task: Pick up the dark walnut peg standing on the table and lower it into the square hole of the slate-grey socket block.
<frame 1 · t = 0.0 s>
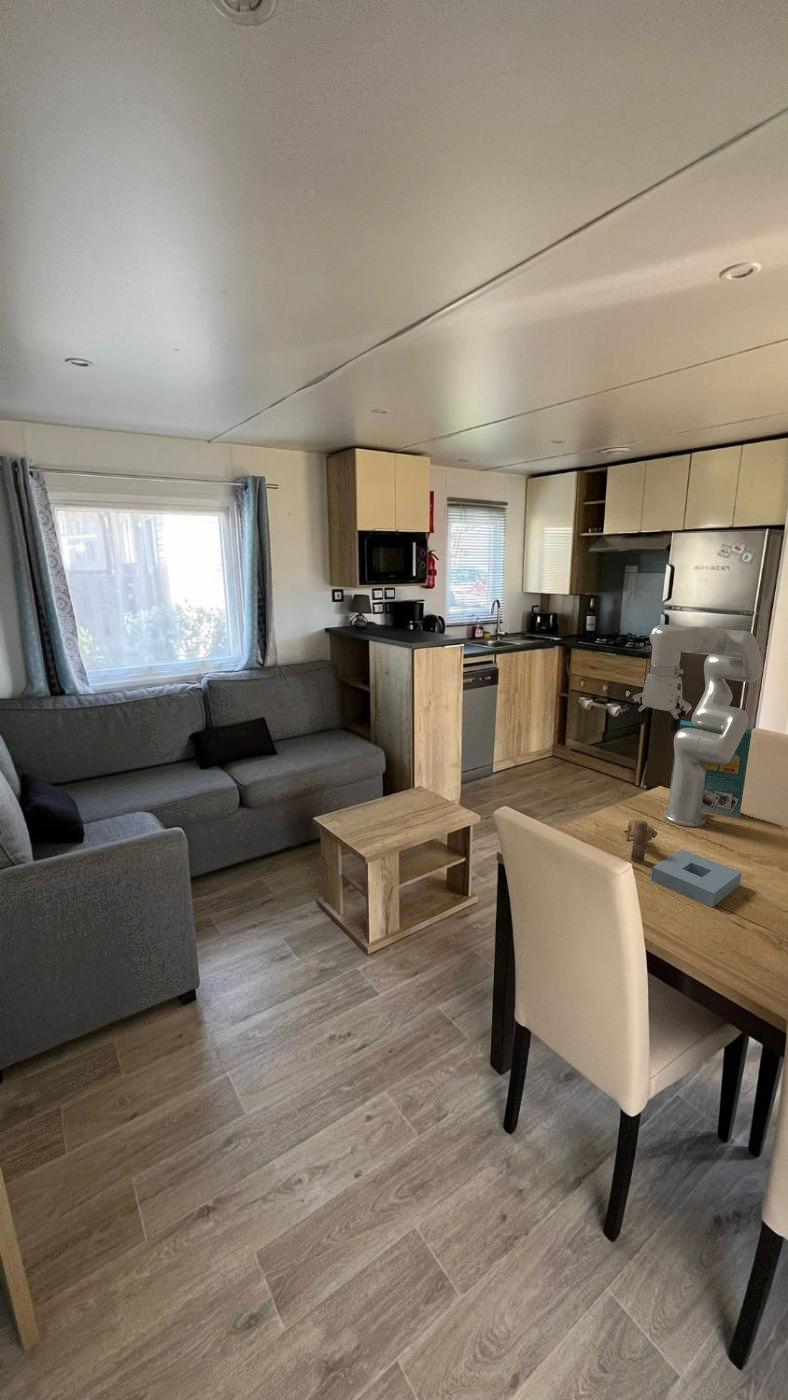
hand: (658, 727, 168), 37 cm above the table, tool pointing down, fingers open, 9 cm apart
cake mix box: (703, 808, 199), on the table
lion figurine: (637, 845, 174), on the table
peg: (637, 860, 164), on the table
socket block: (694, 882, 153), on the table
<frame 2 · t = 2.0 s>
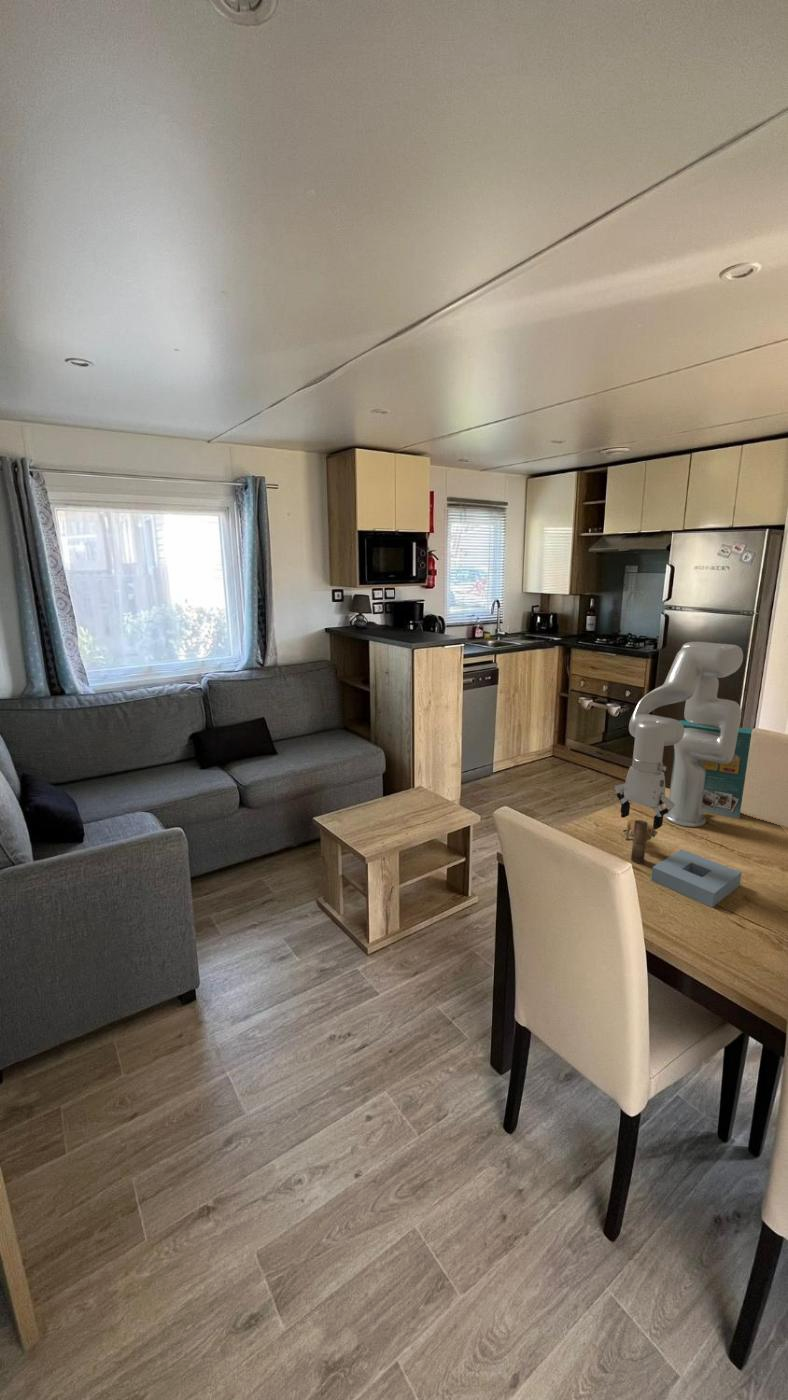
hand: (640, 822, 161), 12 cm above the table, tool pointing down, fingers open, 9 cm apart
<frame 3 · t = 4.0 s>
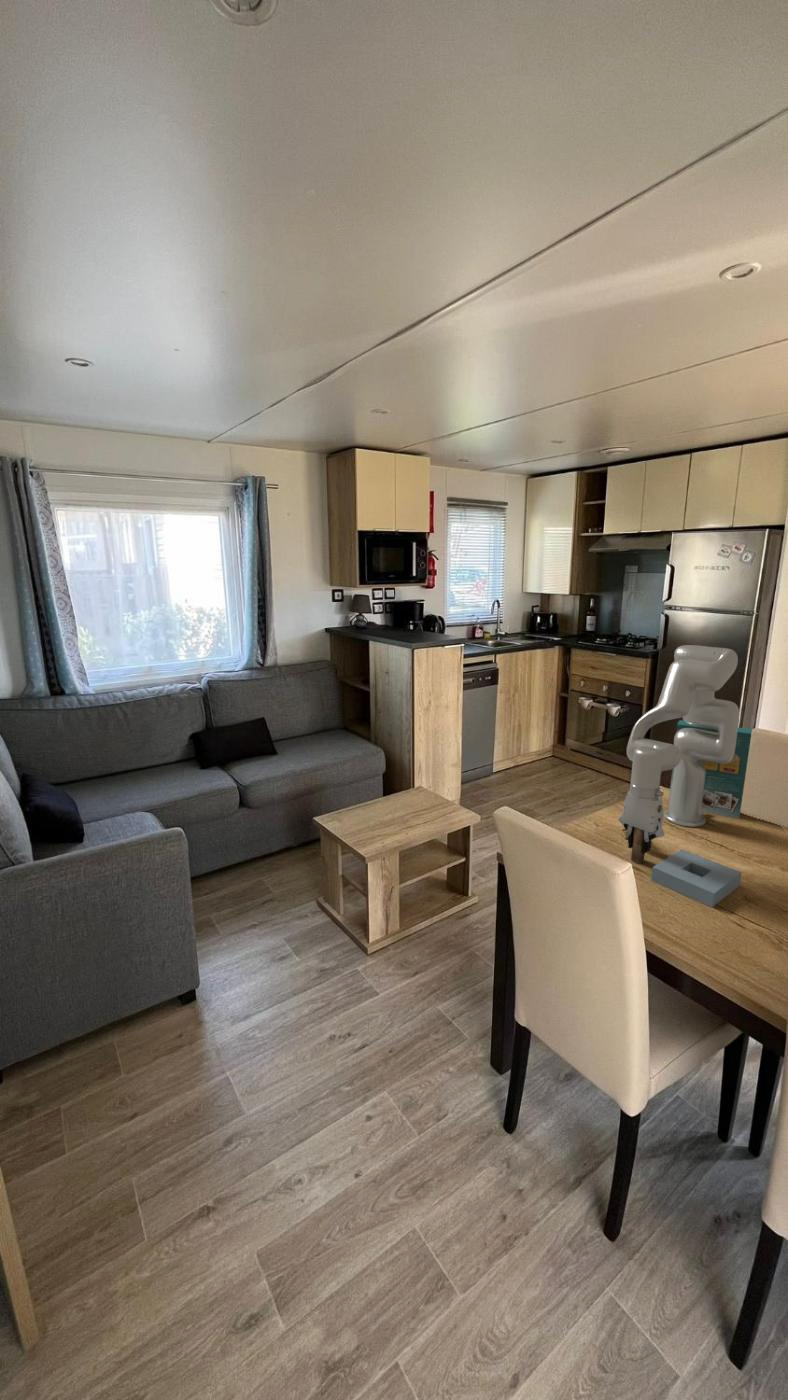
hand: (638, 848, 163), 4 cm above the table, tool pointing down, fingers closed on peg, 3 cm apart
peg: (637, 860, 164), on the table, touching gripper
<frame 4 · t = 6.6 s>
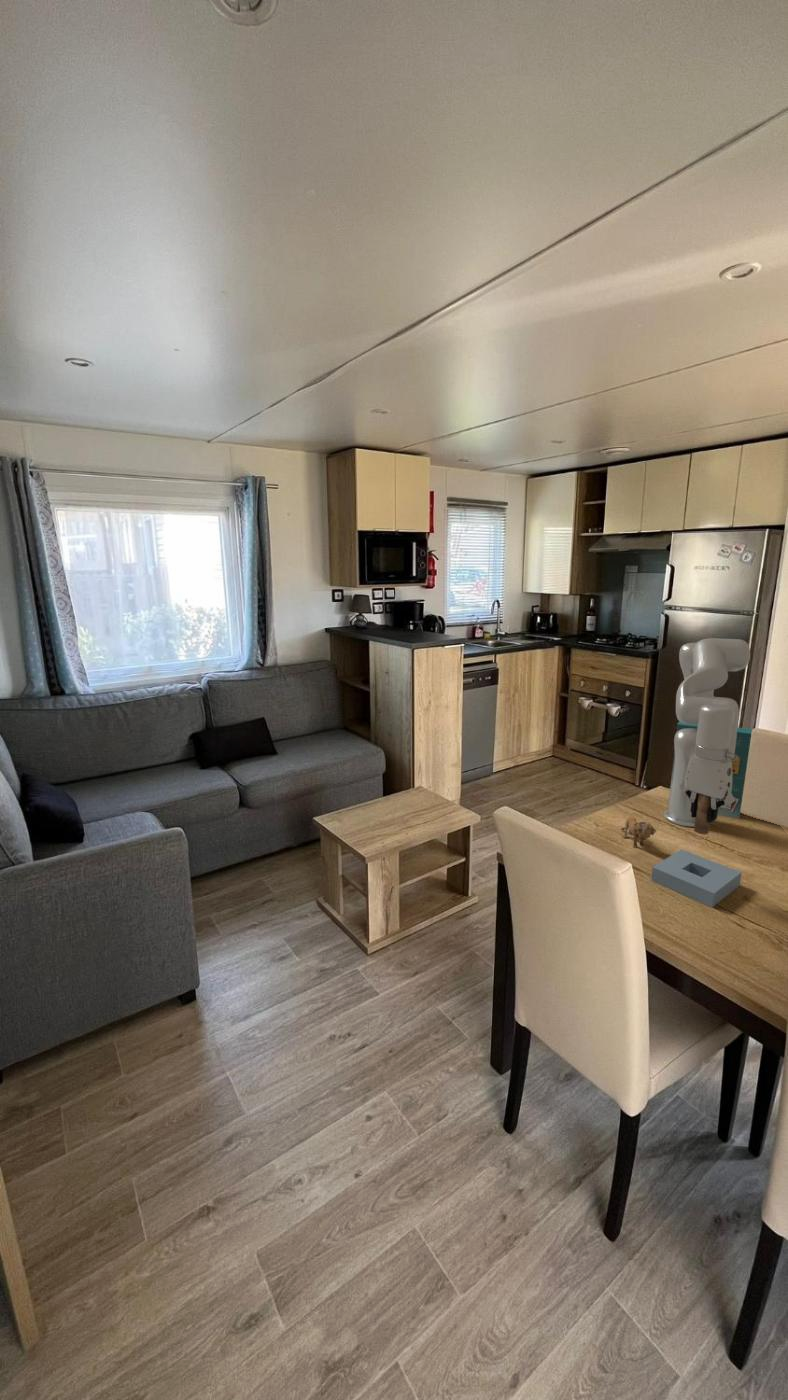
hand: (703, 817, 148), 19 cm above the table, tool pointing down, fingers closed on peg, 3 cm apart
peg: (701, 831, 149), point 15 cm above the table, touching gripper
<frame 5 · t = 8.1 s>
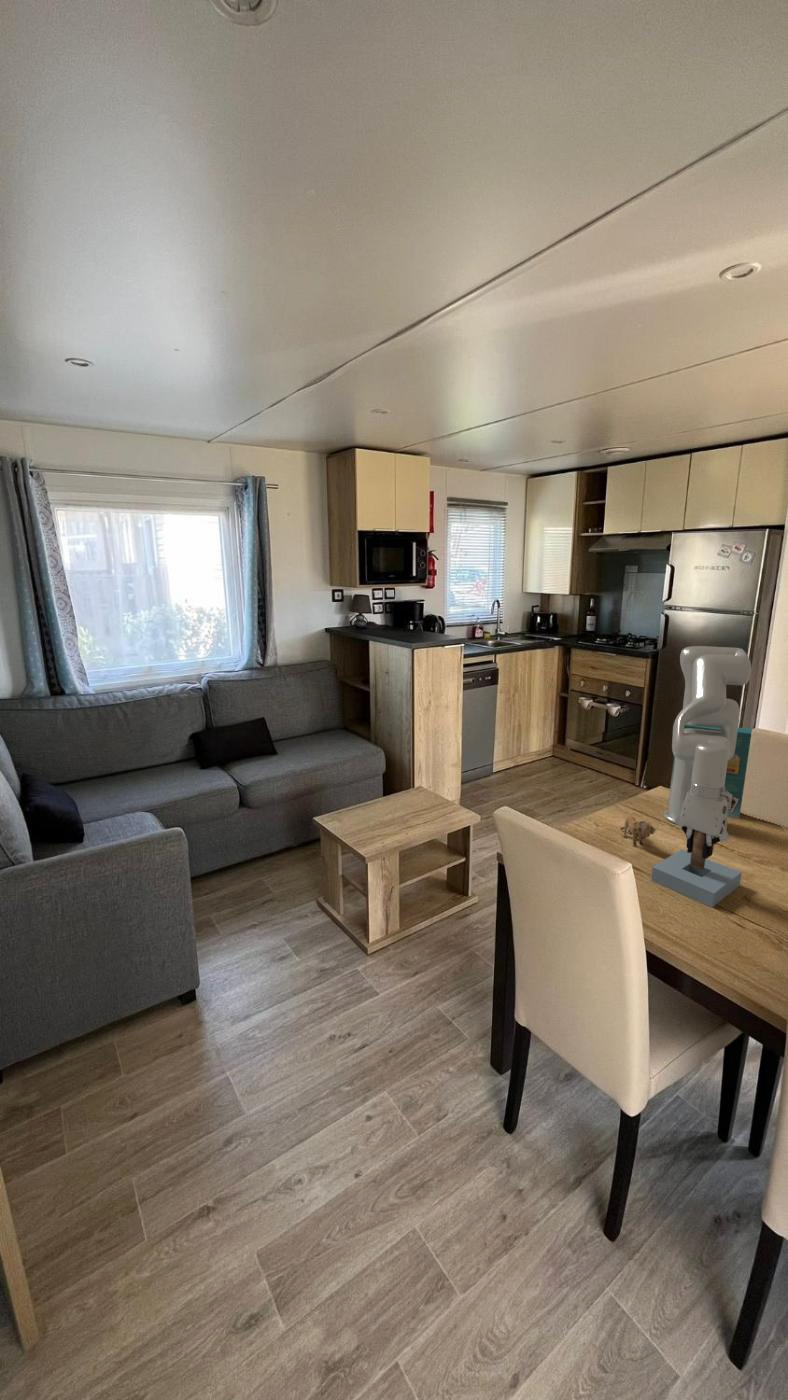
hand: (698, 853, 150), 9 cm above the table, tool pointing down, fingers closed on peg, 3 cm apart
peg: (697, 866, 151), point 5 cm above the table, touching gripper
when the fingers open (5 cm above the table, at t = 9.2 s): peg drops 1 cm, resting in socket block.
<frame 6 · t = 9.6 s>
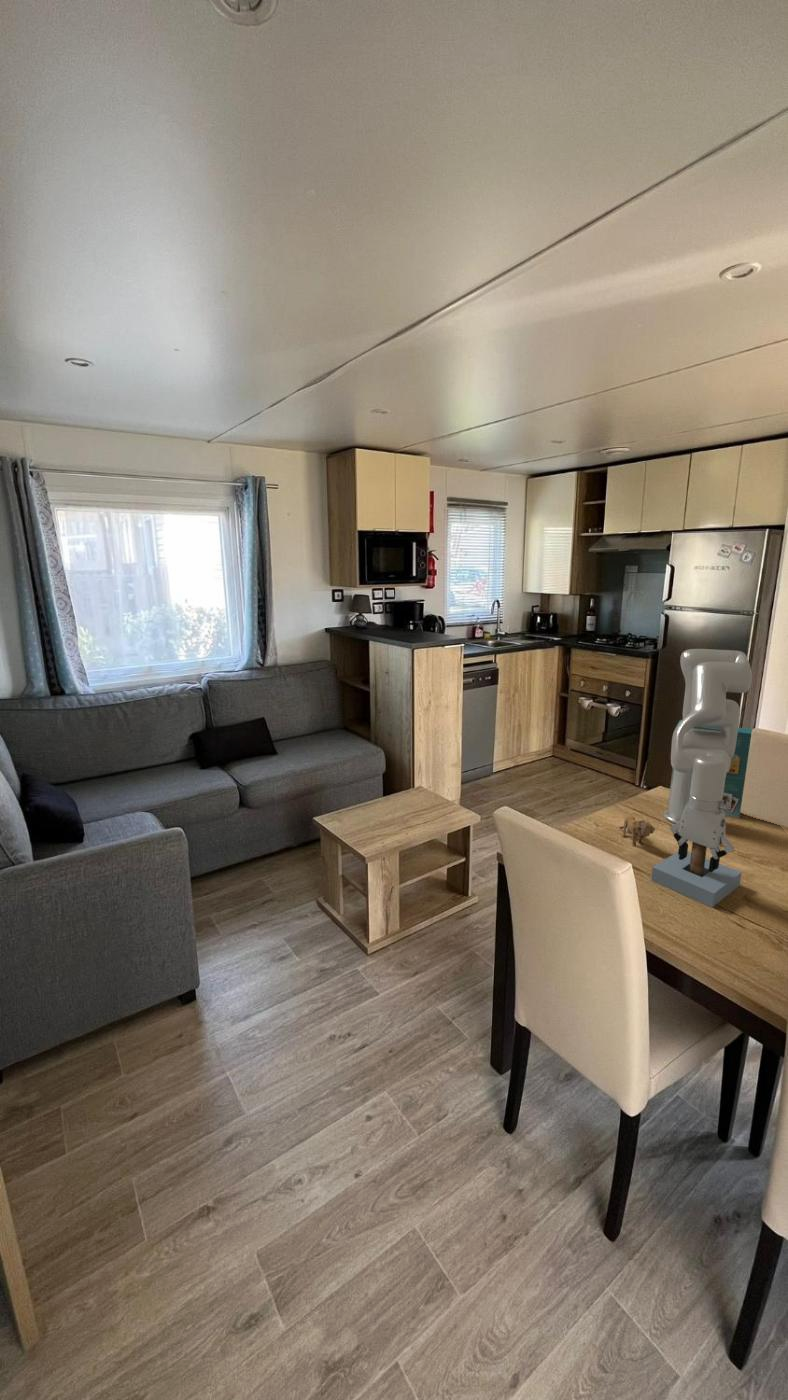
hand: (697, 863, 151), 6 cm above the table, tool pointing down, fingers open, 7 cm apart
peg: (695, 883, 152), resting in socket block
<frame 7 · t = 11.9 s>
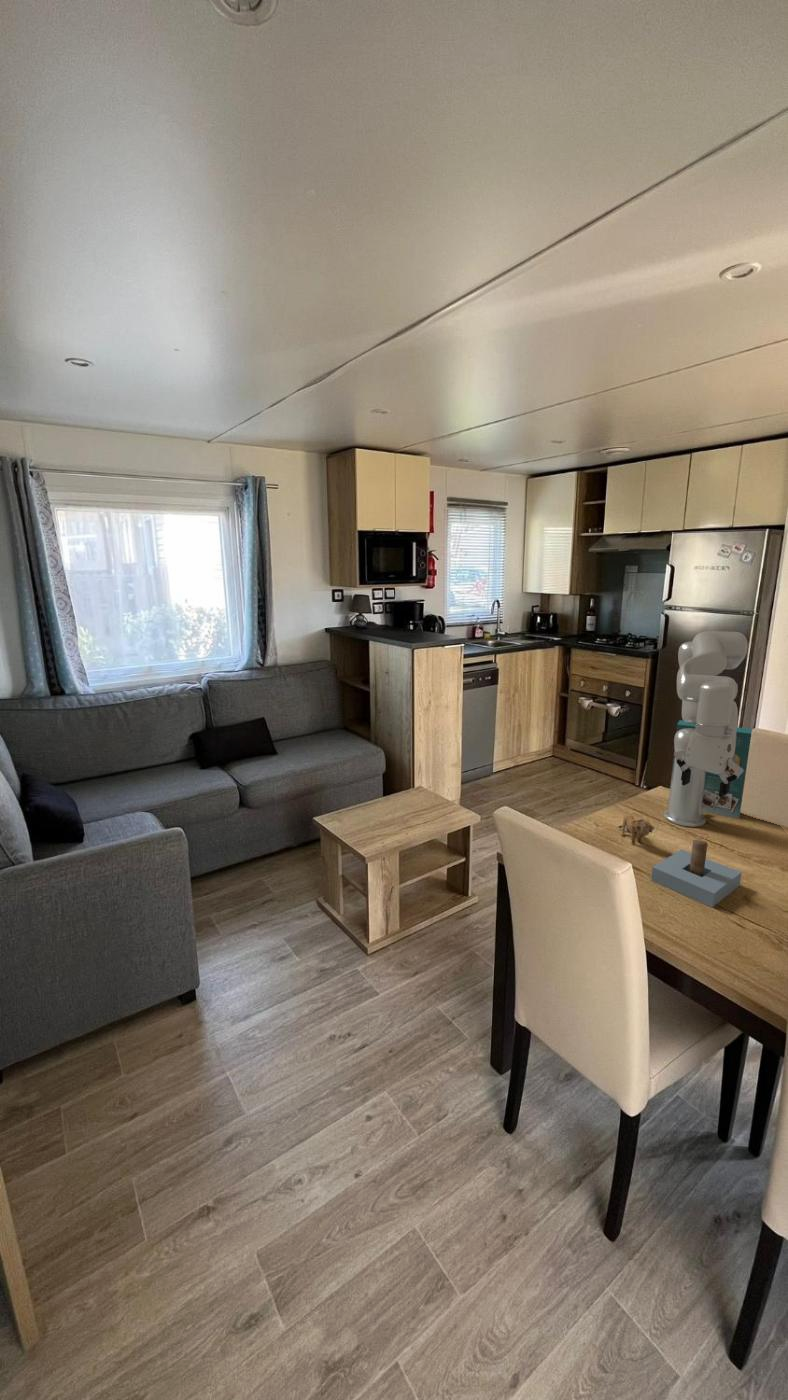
hand: (703, 789, 151), 25 cm above the table, tool pointing down, fingers open, 9 cm apart
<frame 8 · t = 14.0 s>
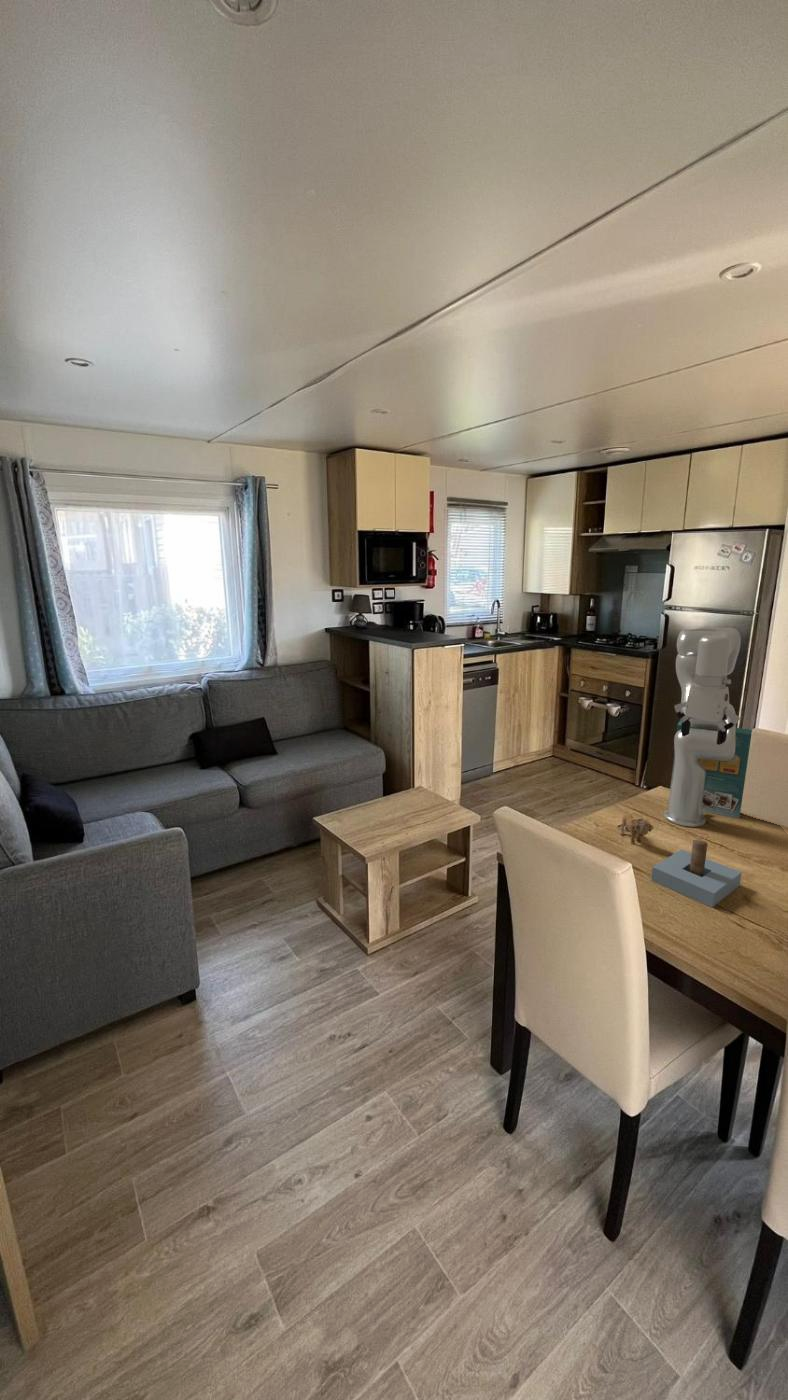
hand: (702, 739, 160), 36 cm above the table, tool pointing down, fingers open, 9 cm apart
cake mix box: (703, 809, 199), on the table, touching arm
at the end: peg 0.0 cm off-centre on the socket block, point 0.0 cm above the socket block's base; peg tilted 0°; the gripper is holding nothing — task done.
